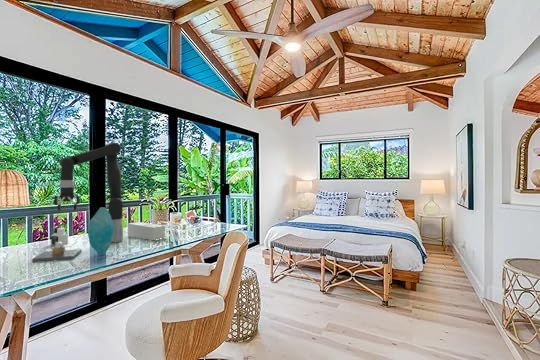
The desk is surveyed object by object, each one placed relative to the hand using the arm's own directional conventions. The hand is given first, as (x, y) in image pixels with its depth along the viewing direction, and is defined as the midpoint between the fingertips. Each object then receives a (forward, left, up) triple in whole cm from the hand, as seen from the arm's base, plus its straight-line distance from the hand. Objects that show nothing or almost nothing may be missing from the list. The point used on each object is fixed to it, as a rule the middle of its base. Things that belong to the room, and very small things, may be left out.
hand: (67, 210), depth 192 cm
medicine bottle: (+9, -14, -26) cm, 31 cm away
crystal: (-25, +23, -26) cm, 43 cm away
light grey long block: (-48, -22, -27) cm, 59 cm away
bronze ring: (-2, +22, -24) cm, 33 cm away
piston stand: (-2, +22, -26) cm, 34 cm away
